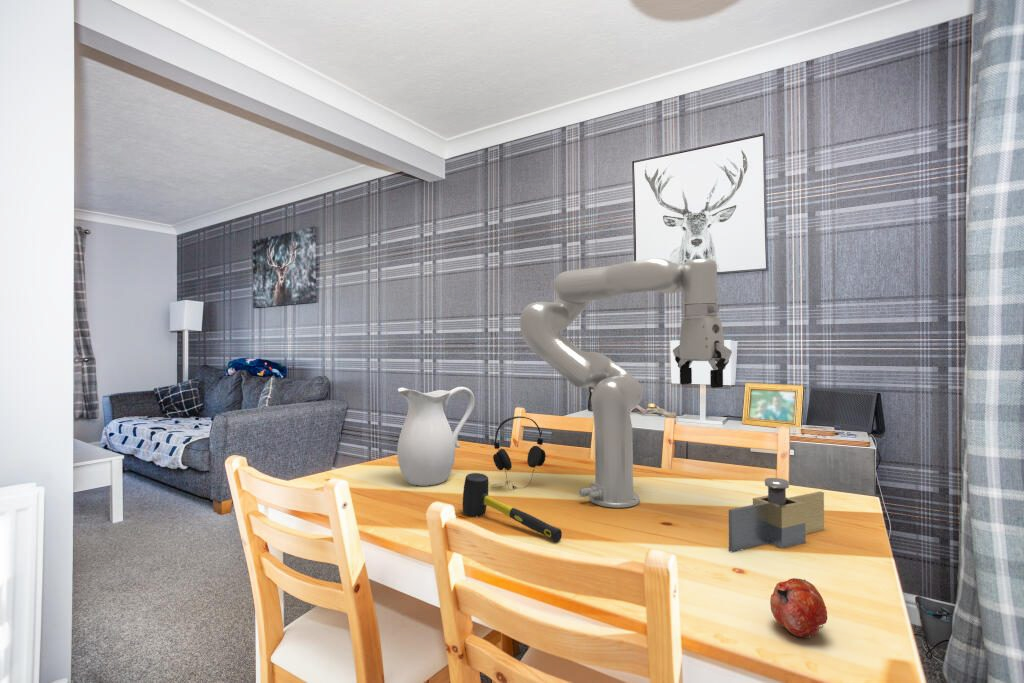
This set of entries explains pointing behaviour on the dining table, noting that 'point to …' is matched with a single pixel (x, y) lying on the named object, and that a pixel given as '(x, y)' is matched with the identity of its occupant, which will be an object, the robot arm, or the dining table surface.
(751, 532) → the hinge
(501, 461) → the headphones
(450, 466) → the pitcher
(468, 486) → the mallet
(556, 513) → the dining table surface
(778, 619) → the pomegranate
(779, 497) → the hinge pin
